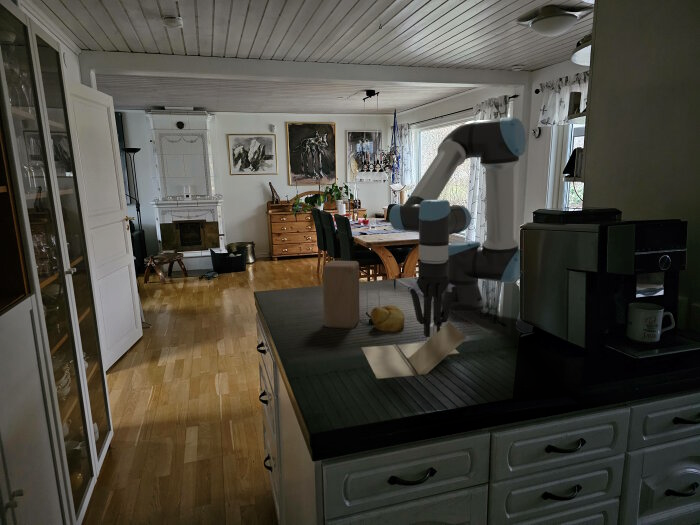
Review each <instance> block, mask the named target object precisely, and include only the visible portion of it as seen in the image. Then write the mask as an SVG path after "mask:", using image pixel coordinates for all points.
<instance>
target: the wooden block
mask: <svg viewBox="0 0 700 525" xmlns="http://www.w3.org/2000/svg"><path fill="white" fill-rule="evenodd" d="M322 291H323V292H322V294H323V298H322V299H323V324H324V327H325V328H335V329H337V328H339V329H354V328H355V327H356V325H357V323H358V321H359V320H360V263H359V262H358V261H357V260H330V261H328V262H327V263H326V264H324V265H323V266H322Z"/></svg>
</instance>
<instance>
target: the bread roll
mask: <svg viewBox="0 0 700 525" xmlns="http://www.w3.org/2000/svg"><path fill="white" fill-rule="evenodd" d="M370 318H371V321H372V322H373V325H374V328H375V329H377V330H379V331H381V332H382V331H384V332H397V331H401V330H402V329H403V327H404V324H405V314H404V312H403V310H402V309H401V308H399V307H398V306H396V305H392V304H391V305H385V306H384V305H383V306H382V307H378V306H376V307H374V308H372V309H371V311H370Z"/></svg>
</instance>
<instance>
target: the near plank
mask: <svg viewBox="0 0 700 525" xmlns="http://www.w3.org/2000/svg"><path fill="white" fill-rule="evenodd" d="M465 340H467V336H466V335H465V334H464V333H463V332H462V331H460V330H459V328H457V327H456V326H454V325H453V324H452V323H451V322H447V323H446V324H445V325H444V326H442V328H440V331H439V332H437V333H436V334H435V335H434V336H433V337H432V338H431V339H430V340H428V341H427V340H426V343H425V342H424V343H425V344H424V345H423V346H422V347H421V348H419V349H418V350H417V351H416V352H415V353H414V354H413V355H412V356H410V357H409V358H407V361H408V362H409V364H410V365H411V366H412V368H413V369H414V371H415V372H416V373H417V375H419V376H421V375H427V374H428V373H429V372H431V371H432V370H433V369H434V368H435V367H436V366H437V365H439V363H441V362H442V361H443V360H444V359H445V358H446V357H447V356H449V355H448V354H450V353H451V352H452V351H453V350H454V349H456V348H457V347H459V346H460V345H461V344H462V343H463V342H464V341H465Z"/></svg>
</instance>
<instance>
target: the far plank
mask: <svg viewBox="0 0 700 525" xmlns="http://www.w3.org/2000/svg"><path fill="white" fill-rule="evenodd" d="M426 342H427V341H426ZM426 342H415V343H404V344H396V346H397V347H398V349H399V350H400V351H401V353H402V354H403V355H404V357H405V358H406V359H408V358H409V357H410V356H412V355H413V354H414V353H415V352H416V351H417V350H418V349H419V348H421V347H422V346H423V345H424V344H425V343H426ZM452 355H453V356H454V355H460V352H459V351H458V350H457V349H456V348H455V349H454V350H453V351H452V352H451V353H450V354H448V355H447V356H452Z"/></svg>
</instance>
